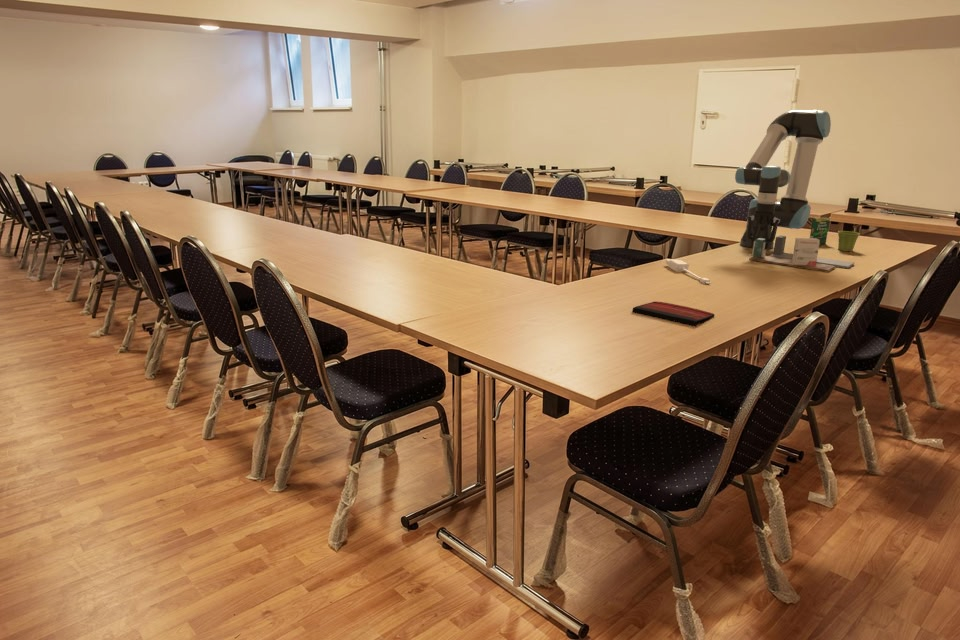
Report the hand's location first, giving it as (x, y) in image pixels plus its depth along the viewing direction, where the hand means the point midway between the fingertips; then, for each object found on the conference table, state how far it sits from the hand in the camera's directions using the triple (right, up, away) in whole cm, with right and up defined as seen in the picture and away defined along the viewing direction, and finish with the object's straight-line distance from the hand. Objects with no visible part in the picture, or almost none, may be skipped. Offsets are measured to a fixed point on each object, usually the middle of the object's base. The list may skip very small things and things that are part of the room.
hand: (758, 255), depth 293 cm
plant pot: (+53, +5, +26) cm, 59 cm away
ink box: (+14, -6, -12) cm, 19 cm away
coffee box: (+47, +10, +41) cm, 63 cm away
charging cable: (-41, -11, -31) cm, 53 cm away
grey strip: (+23, -2, -1) cm, 23 cm away
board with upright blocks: (+11, -4, -8) cm, 14 cm away
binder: (-62, -27, -85) cm, 109 cm away
